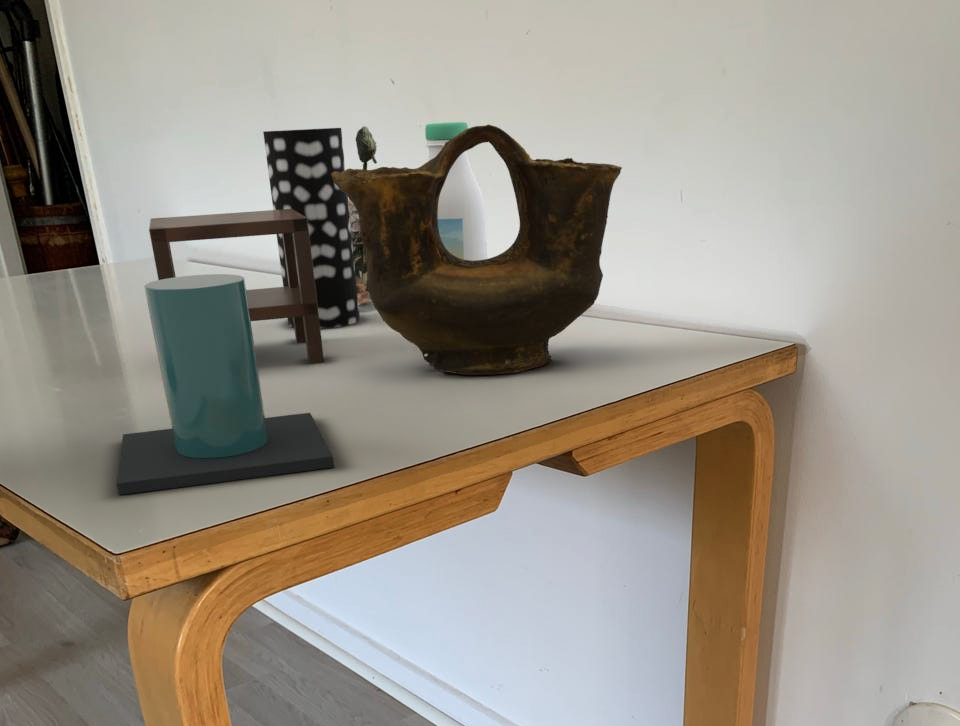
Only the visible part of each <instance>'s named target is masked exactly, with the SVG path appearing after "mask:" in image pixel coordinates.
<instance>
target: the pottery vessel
mask: <svg viewBox="0 0 960 726" xmlns="http://www.w3.org/2000/svg"><path fill="white" fill-rule="evenodd" d="M483 143H489V144H490V145H491V146H492V147H493V149H494V150H495V152H496V153H497V154H498V155H499V157H500V158H501V159H502V160H503V162H504V164H505V166H506V168H507V171H508V173H509V177H510V180H511V184H512V188H513V192H514V196H515V201H516V207H517V212H518V220H519V228H518V229H519V230H518V233H517V236H516V238H515V240H514V242H512V244H511V245H510V246H509V247H508V248H507V249H506V250H505V251H503V252H501V253H499V254H498V255H495V256H492V257H489V258H487V259H484V260H476V261H472V260H464V259H460V258H458V257H456V256H454V255H452V254H451V253H450V252H449V251H448V250H447V249H446V248H445V246H444V244H443V242H442V240H441V237H440V234H439V228H438V201H439V196H440V193H441V190H442V188H443V185H444V183H445V181H446V178H447V175H448V173H449V171H450V169H451V167H452V166H453V164H454V163H455V161H456V160H457V158H458V157H459V156H460V155H461V154H462V153H463V152H465V151H467V152H468V151H469V150H472V149H473V148H475V147H477V146H478V145H480V144H483ZM622 169H623V167H622V166H618V165H615V164H610V163H596V162H578V161H576V160H574V159H573V158H572V157H566V158H563V159H557V160H553V159H548V158H535V159H533V158H531V156H530V154H529V153H528V152H527V151H526V149H525V148H524V147H523V146H522V145H521V144H520V143H519V142H518V141H516V139H514V138H513V137H512V136H511V135H510V134H509V133H507V132H506V131H505V130H503V129H502V128H500V127H498V126H495V125H492V124H490V123H489V124H486V125H475V126H471V127H468V129H465V130H464V131H462V132H461V133H459V134H458V135H457V136H455V137H454V138H452V139H451V140H449V141H448V142H446V143H445V146H444V147H443V148H442V150H441V151H440V152H439V153H438V155H437V156H436V157H435V158H433V159H431V160H430V161H428V160H427V161H426V162H425V163H424V164H422V165H421V166H419V167H417V168H410V167H407V166H404V167H395V166H394V167H393V166H391V167H388V166H380V167H377V168H375V169H367V170H363V168H347V169H345V171H343V172H341V173H340V172H333V173H331V175H332V178H333V181H334V183H335V184H336V185H337V186H338V187H339V189H340V190H341V191H342V192H344V193H345V194H346V195H347V196H348V199H350V201H351V202H352V203H353V204H354V206H355V208H356V209H357V212H358V215H359V223H360V236H361V238H362V242H363V244H364V245H365V249H366V256H367V280H366V287H367V289H368V292H369V294H370V297H371V301H370V302H371V303H372V305H373V307H374V308H375V310H376V311H377V313H378V315H379V316H380V318H381V319H382V321H383V322H384V323H385V324H386V325H387V326H388V327H389V328H390V329H391V330H393V331H394V332H397V333H398V334H399V335H401V336H402V338H403V339H405V340H406V341H408V342H410V343H412V344H413V345H415V346H416V347H417V348H418V349H419V351H420V353H421V354H422V357H423V360H424V361H425V362H426V363H428V364H429V366H432V368H434V370H437V371H440V372H445V373H446V372H447V373H448V372H449V373H454V374H456V375H466V376H467V375H468V376H482V375H483V376H486V375H502V374H510V373H511V374H512V373H518V372H524V371H528V370H531V369H534V368H537V367H538V368H539V367H542V366H544V365H545V364H550V363H551V362H552V360H553V359H552V355H551V353H550V351H549V341H550V339H552V338H553V337H556V336H557V335H559V334H561V332H563V331H565V330H566V329H567V327H569V326H570V325H571V324H572V323H574V322H575V321H576V320H577V319H578V318H579V317H581V316H582V315H583V314H584V313H585V312H587V311H588V310H589V309H590V308H592V307H593V306H594V304H595V302H596V300H597V299H598V298H599V294H600V289H601V285H602V281H603V278H604V274H603V272H602V268H601V263H600V260H601V255H602V251H603V250H602V249H603V243H604V237H605V232H606V227H607V224H608V217H609V216H608V214H609V207H610V201H611V195H612V192H613V187H614V184H615V182H616V180H618V177H619V176H620V174H621V173H622Z"/></svg>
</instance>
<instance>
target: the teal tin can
mask: <svg viewBox="0 0 960 726" xmlns="http://www.w3.org/2000/svg"><path fill="white" fill-rule="evenodd" d="M246 290H247V287H246V281H245V277H244V276H242V275H239V274H229V273H228V274H227V273H225V274H224V273H213V274H211V273H209V274H193V275H192V274H191V275H184V276H176V277H174V278H168V279H162V280H154V281H149V282H148V283H146V284H145V285H144V291H145V292H144V293H145V296H146V302H147V309H148V313H149V318H150V323H151V327H152V332H153V337H154V343H155V349H156V353H157V359H158V363H159V369H160V374H161V379H162V384H163V390H164V395H165V398H166V404H167V410H168V414H169V415H168V416H169V420H170V426H171V429H172V431H173V436H174V441H175V446H176V451H177V452H178V453H179V454H181V455H183V456H187V457H192V458H222V457H230V456H235V455H240V454H244V453H248V452H251V451H254V450H257V449H259V448H261V447H263V446H264V445H265V444H266V443H267V442H268V435H267V428H266V421H265V418H266V416H265V415H266V414H265V408H264V403H263V402H264V400H263V395H262V394H263V393H262V388H261V382H260V381H261V380H260V376H259V375H260V373H259V368H258V367H259V366H258V362H257V355H256V349H255V341H254V334H253V328H252V321H251V320H250V314H249V307H248V300H247V293H246Z"/></svg>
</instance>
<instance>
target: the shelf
mask: <svg viewBox="0 0 960 726" xmlns="http://www.w3.org/2000/svg"><path fill="white" fill-rule="evenodd" d="M148 231H149V238H150V243H151V248H152V254H153V259H154V263H155V264H154V265H155V269H156V274H157V279H158V280H162V279H168V278H174V277H177V276H176V270H175V266H174V260H173V253H172V249H171V243H178V242H179V243H180V242H189V241H202V240H204V241H205V240H217V239H230V238H243V237H244V238H245V237H258V236H269V235H270V236H271V235H277V234H282V237H283V245H284V253H285V261H286V268H287V276H288V284H289V286H287V287H283V286H279V287H278V286H276V287H266V288H253V289H246V293H247V300H248V307H249V314H250V320H251V322H259V321H269V320H270V321H272V320H281V319H288V318H292V317H293V323H294V327H293V330H294V337H295V341H296V343H297V344H303V343H305V345H306V355H307V361H308V362H309V364H314V363H315V364H317V363H324V362H325V358H324V348H323V340H322V332H321V331H322V330H321V329H320V322H319V313H318V305H317V296H316V288H315V279H314V271H313V262H312V254H311V245H310V236H309V228H308V219H307V217H305V216H303V215H301V214H300V213H298V212H296V211H295V210H293V209H282V210H273V209H270V210H256V211H255V210H253V211H242V212H241V211H240V212H227V213H212V214H210V213H209V214H196V215H184V216H168V217H154V218H150V222H149V227H148Z"/></svg>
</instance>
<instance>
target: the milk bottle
mask: <svg viewBox="0 0 960 726" xmlns="http://www.w3.org/2000/svg"><path fill="white" fill-rule="evenodd" d="M424 127H425V128H424V130H425V131H424V133H425V140H426V147H427V148H428V160H427V162H428V161H430V160H431V159H433V158H435V157H436V156H437V155H438V153H439V152H440V151H441V150H442V148H443V147H444V146H445V143H446V142H448V141H449V140H451V139H452V138H454V137H455V136H457V135H458V134H459V133H461V132H462V131H464V130H465V129H468V128H469V126H468V123H467V122H465V121H452V122H434V123H427V124H425V126H424ZM483 197H484V196H483V193H482V190H481V188H480V185H479V183H478V180H477V178H476V176H475V174H474V172H473V169H472V165H471V163H470V159H469V156H468V150H467V151H465V152H463V153H462V154H461V155H460V156H459V157H458V158H457V160H456V161H455V163H454V164H453V166H452V167H451V169H450V171H449V173H448V175H447V178H446V181H445V183H444V185H443V188H442V190H441V193H440V196H439V201H438V228H439V234H440V237H441V240H442V242H443V244H444V246H445V248H446V249H447V250H448V251H449V252H450V253H451V254H452V255H454V256H456V257H458V258H460V259H464V260H472V261H476V260H484V259H488V241H487V239H488V238H487V224H486V223H487V221H486V220H487V219H486V210H485V203H484V201H485V200H484V198H483Z"/></svg>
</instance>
